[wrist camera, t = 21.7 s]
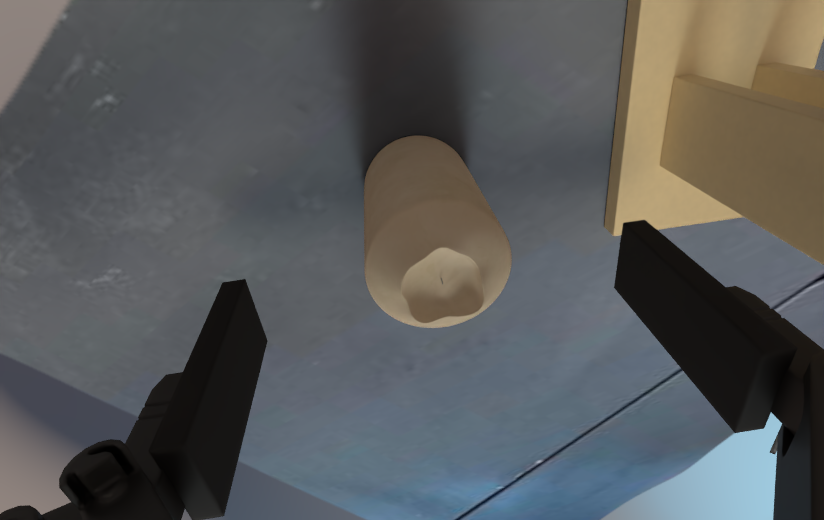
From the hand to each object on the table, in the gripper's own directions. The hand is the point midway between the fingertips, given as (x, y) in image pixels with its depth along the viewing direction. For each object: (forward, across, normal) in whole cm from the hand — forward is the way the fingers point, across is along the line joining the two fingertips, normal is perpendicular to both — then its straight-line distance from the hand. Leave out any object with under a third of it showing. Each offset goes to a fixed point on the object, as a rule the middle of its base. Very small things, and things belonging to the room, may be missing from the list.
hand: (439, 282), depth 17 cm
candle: (+10, 0, 0) cm, 10 cm away
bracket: (+10, +15, +2) cm, 18 cm away
